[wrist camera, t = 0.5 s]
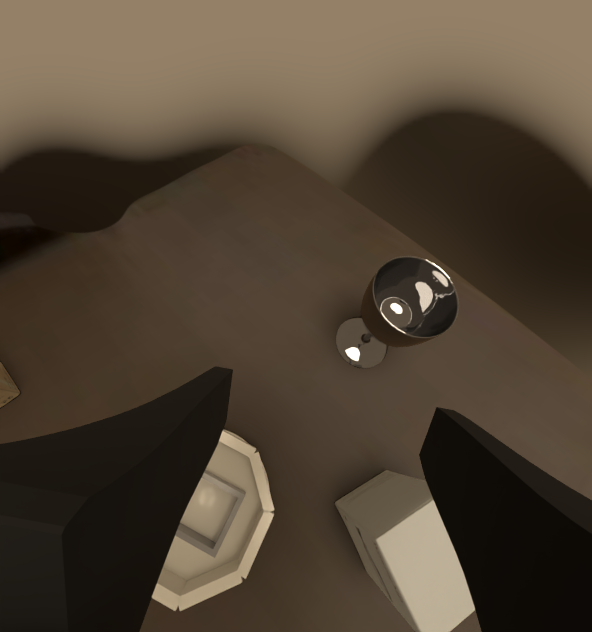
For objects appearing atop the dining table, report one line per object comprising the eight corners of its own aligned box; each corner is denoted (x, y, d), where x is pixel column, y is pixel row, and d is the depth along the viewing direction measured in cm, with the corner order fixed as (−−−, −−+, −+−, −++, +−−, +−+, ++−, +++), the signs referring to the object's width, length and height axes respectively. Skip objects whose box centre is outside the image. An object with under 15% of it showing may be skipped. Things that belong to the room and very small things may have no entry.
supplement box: (331, 501, 34) (372, 536, 22) (386, 468, 36) (450, 483, 24) (365, 574, 32) (429, 654, 20) (421, 534, 34) (509, 587, 22)
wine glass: (345, 379, 39) (396, 348, 25) (324, 322, 42) (359, 265, 28) (400, 361, 41) (475, 323, 27) (376, 307, 43) (434, 247, 29)
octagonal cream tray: (224, 615, 29) (220, 641, 26) (95, 540, 30) (73, 555, 27) (292, 464, 35) (296, 468, 31) (180, 404, 36) (172, 401, 32)
